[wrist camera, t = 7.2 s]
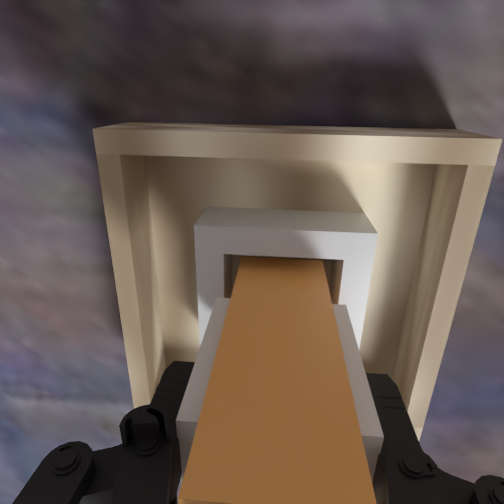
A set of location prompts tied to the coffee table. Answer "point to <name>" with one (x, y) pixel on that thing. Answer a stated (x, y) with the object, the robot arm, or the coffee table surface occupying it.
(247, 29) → the coffee table surface
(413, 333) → the box
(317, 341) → the connector
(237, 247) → the socket
